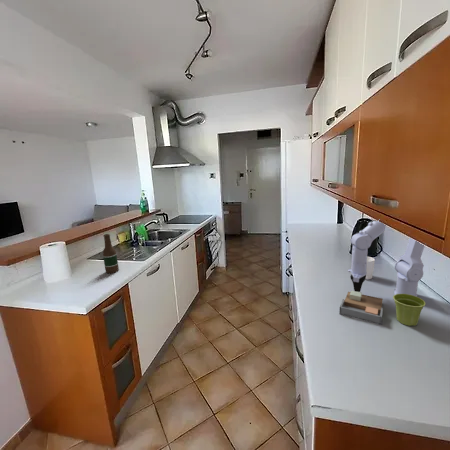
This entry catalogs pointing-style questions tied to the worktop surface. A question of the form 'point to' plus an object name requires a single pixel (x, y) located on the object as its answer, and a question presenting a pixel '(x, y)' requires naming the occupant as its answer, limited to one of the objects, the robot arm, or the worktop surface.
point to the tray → (360, 314)
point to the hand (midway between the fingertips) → (357, 291)
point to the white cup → (369, 267)
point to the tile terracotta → (371, 310)
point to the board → (364, 302)
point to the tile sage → (355, 295)
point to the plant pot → (408, 308)
